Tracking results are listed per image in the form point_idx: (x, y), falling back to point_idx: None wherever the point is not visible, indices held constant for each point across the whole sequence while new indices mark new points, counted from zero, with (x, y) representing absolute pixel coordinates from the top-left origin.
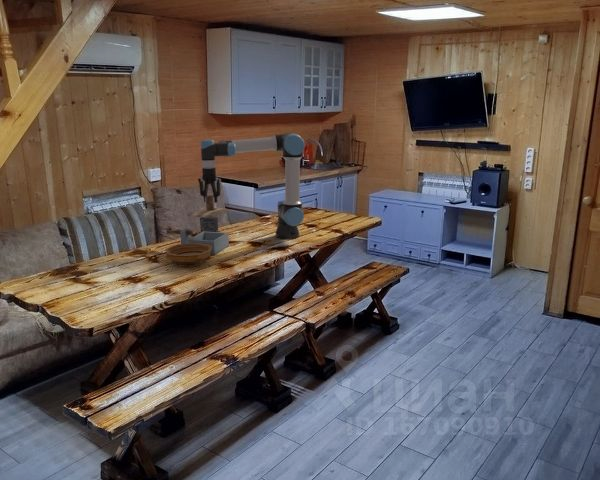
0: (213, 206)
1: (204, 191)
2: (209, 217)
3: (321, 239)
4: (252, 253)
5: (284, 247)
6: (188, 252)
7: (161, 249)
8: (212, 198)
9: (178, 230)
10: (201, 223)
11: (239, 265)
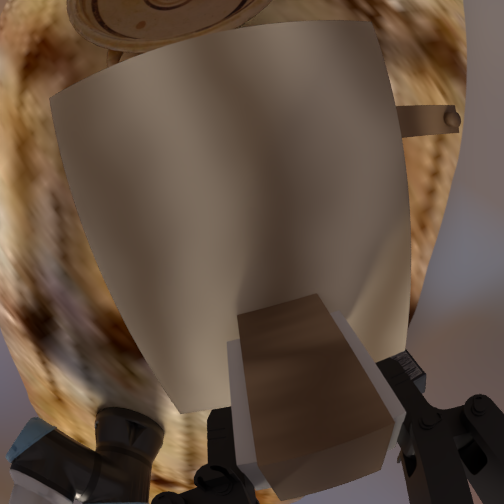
0: (241, 355)
1: (456, 483)
2: None
3: (51, 418)
4: (49, 232)
5: (39, 339)
6: (225, 17)
7: (416, 102)
8: (254, 441)
9: (407, 114)
10: (412, 364)
11: (9, 93)
